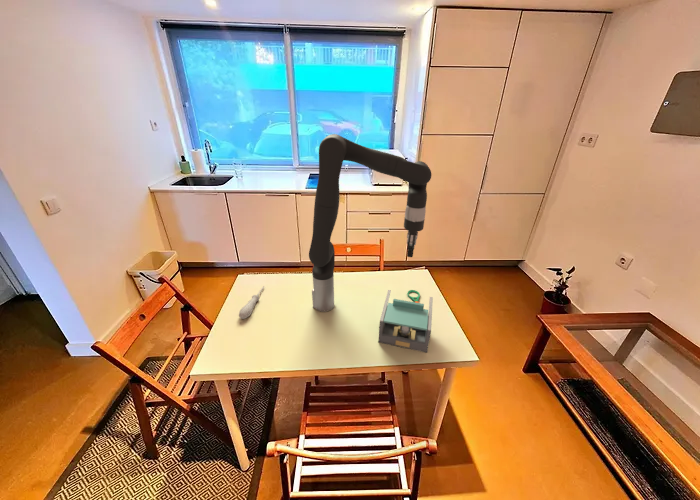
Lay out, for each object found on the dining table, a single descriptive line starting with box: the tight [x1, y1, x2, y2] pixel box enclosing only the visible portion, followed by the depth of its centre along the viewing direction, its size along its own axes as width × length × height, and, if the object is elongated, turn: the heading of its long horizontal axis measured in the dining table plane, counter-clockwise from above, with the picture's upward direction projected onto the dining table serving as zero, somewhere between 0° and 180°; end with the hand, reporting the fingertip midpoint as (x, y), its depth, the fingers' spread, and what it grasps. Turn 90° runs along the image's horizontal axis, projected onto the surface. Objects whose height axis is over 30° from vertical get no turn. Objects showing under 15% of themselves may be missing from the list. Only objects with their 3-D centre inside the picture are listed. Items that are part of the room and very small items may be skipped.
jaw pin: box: [399, 326, 411, 339], centre depth 114 cm, size 4×4×9 cm
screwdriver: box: [238, 286, 265, 320], centre depth 136 cm, size 5×25×4 cm, turn 173°
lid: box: [384, 298, 429, 331], centre depth 111 cm, size 16×11×3 cm
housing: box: [377, 289, 434, 353], centre depth 119 cm, size 19×20×12 cm
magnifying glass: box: [406, 289, 421, 303], centre depth 138 cm, size 15×6×2 cm, turn 2°
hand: (409, 256), depth 118 cm, fingers closed
